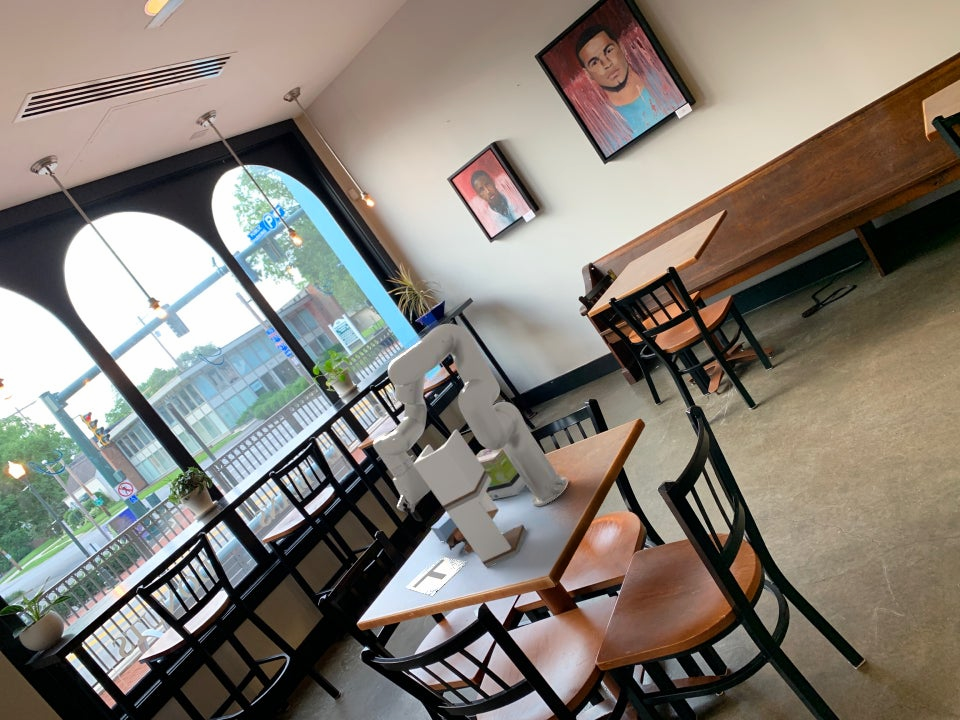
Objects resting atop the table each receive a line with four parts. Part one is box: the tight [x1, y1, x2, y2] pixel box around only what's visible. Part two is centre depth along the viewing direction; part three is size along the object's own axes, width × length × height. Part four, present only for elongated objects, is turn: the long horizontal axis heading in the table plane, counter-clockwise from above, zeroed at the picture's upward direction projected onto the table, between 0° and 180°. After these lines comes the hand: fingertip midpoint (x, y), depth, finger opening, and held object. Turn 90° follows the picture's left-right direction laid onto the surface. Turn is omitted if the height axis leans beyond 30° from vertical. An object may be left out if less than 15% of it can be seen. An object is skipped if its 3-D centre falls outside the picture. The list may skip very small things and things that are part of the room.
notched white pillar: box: [413, 429, 527, 568], centre depth 198 cm, size 11×11×35 cm
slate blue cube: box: [430, 515, 457, 543], centre depth 235 cm, size 6×6×6 cm
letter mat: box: [405, 556, 466, 597], centre depth 214 cm, size 20×14×1 cm
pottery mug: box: [445, 527, 474, 554], centre depth 219 cm, size 12×10×8 cm
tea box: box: [475, 448, 527, 501], centre depth 240 cm, size 15×10×15 cm, turn 49°
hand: (431, 510), depth 234 cm, fingers open, 9 cm apart
